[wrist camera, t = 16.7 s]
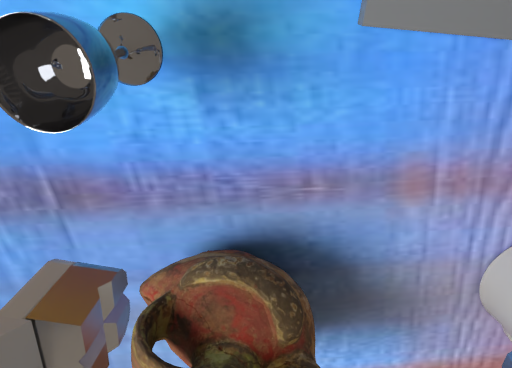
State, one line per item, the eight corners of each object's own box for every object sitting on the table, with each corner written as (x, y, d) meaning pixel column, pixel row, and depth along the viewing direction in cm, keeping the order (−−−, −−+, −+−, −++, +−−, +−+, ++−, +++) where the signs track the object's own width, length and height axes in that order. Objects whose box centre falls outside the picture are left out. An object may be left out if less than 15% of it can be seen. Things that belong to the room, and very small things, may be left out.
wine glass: (177, 33, 37) (109, 51, 24) (150, 102, 41) (77, 152, 27) (103, -8, 36) (-12, -14, 23) (82, 66, 40) (-29, 100, 26)
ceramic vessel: (324, 349, 54) (340, 593, 32) (150, 301, 54) (43, 515, 31) (369, 257, 47) (433, 495, 24) (167, 201, 46) (41, 390, 24)
